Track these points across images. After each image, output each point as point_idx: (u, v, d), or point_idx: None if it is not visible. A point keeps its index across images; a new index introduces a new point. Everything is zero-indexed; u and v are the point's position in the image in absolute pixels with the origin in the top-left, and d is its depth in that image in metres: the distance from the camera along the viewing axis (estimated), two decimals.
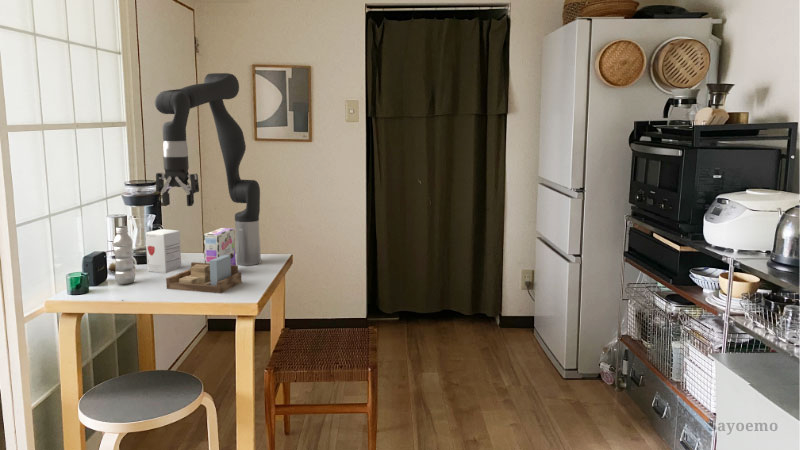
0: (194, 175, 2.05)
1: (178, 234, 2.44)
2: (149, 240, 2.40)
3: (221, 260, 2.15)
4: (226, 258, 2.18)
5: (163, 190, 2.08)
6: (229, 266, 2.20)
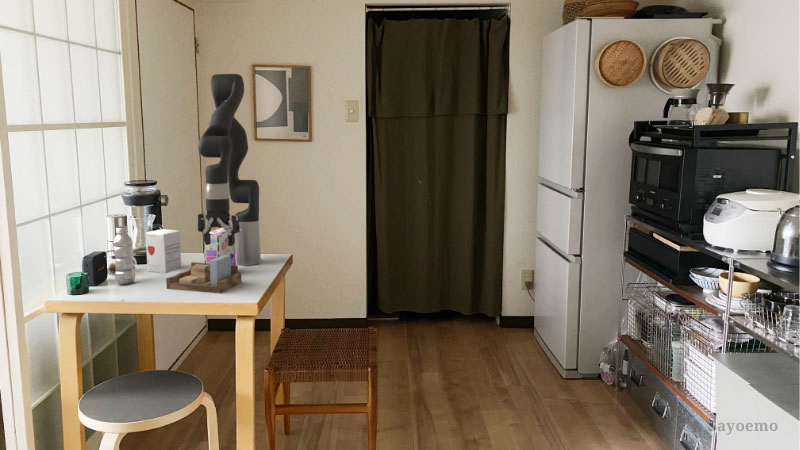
0: (235, 216, 2.12)
1: (178, 234, 2.44)
2: (149, 240, 2.40)
3: (221, 260, 2.15)
4: (226, 258, 2.18)
5: (205, 230, 2.15)
6: (229, 266, 2.20)
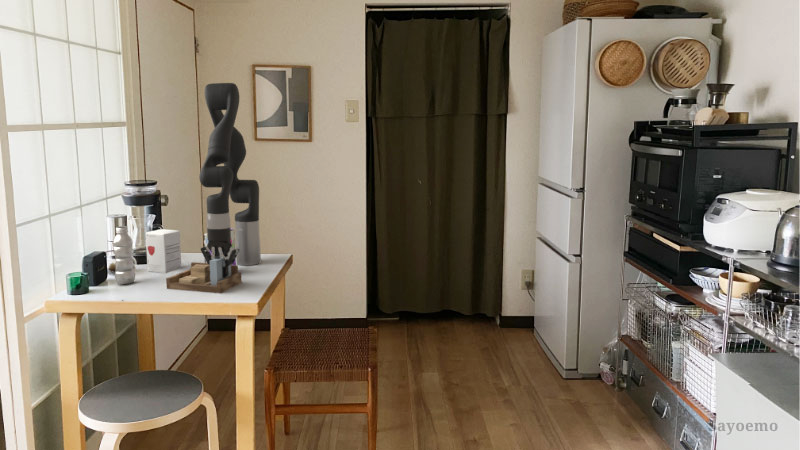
0: (236, 251, 2.14)
1: (178, 234, 2.44)
2: (149, 240, 2.40)
3: (221, 260, 2.15)
4: None
5: None
6: (229, 266, 2.20)
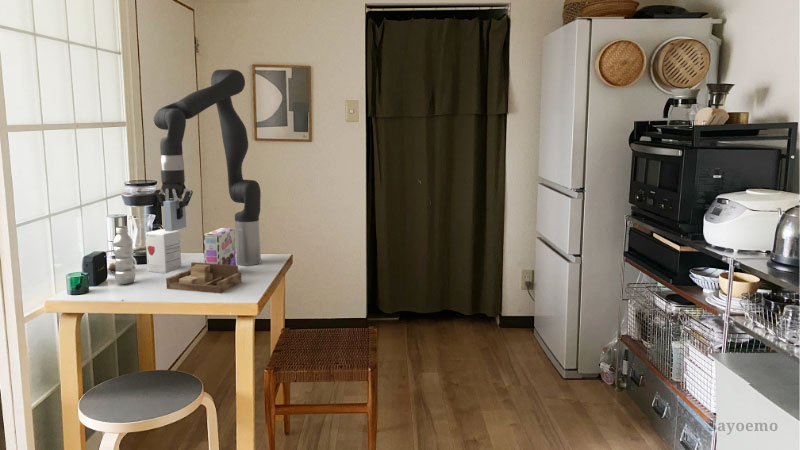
0: (190, 193, 2.18)
1: (178, 234, 2.44)
2: (149, 240, 2.40)
3: (175, 202, 2.19)
4: None
5: None
6: (184, 209, 2.24)
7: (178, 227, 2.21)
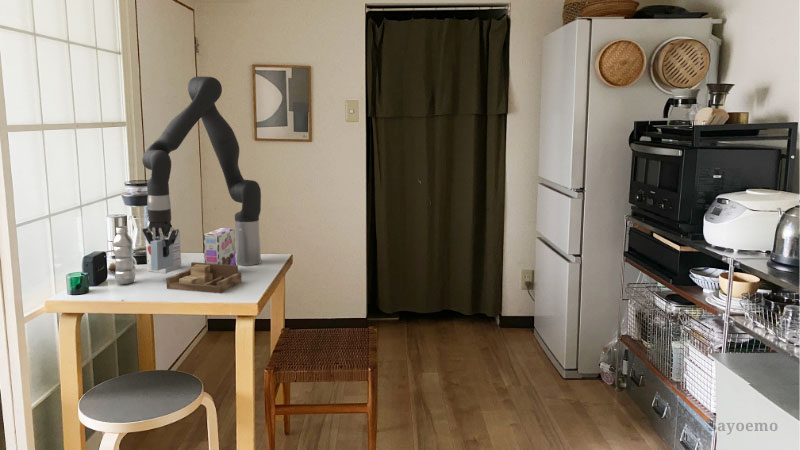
0: (175, 232, 2.23)
1: (178, 234, 2.44)
2: None
3: None
4: None
5: None
6: (171, 248, 2.30)
7: (164, 266, 2.27)
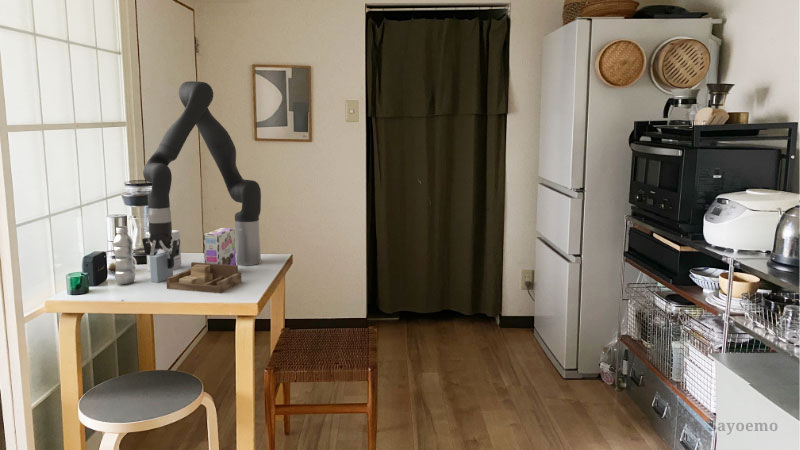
0: (177, 241, 2.24)
1: (178, 234, 2.44)
2: None
3: (161, 256, 2.25)
4: None
5: (151, 254, 2.26)
6: None
7: None
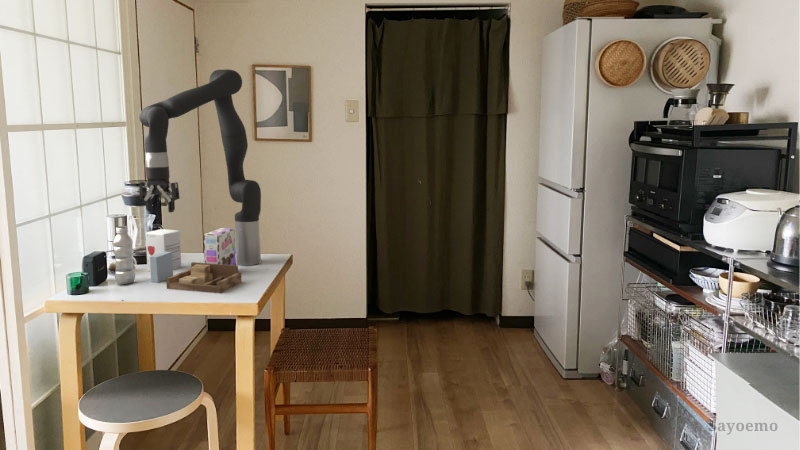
0: (174, 184, 2.22)
1: (178, 234, 2.44)
2: (149, 240, 2.40)
3: (161, 256, 2.25)
4: (167, 254, 2.28)
5: (146, 198, 2.25)
6: (170, 262, 2.30)
7: None
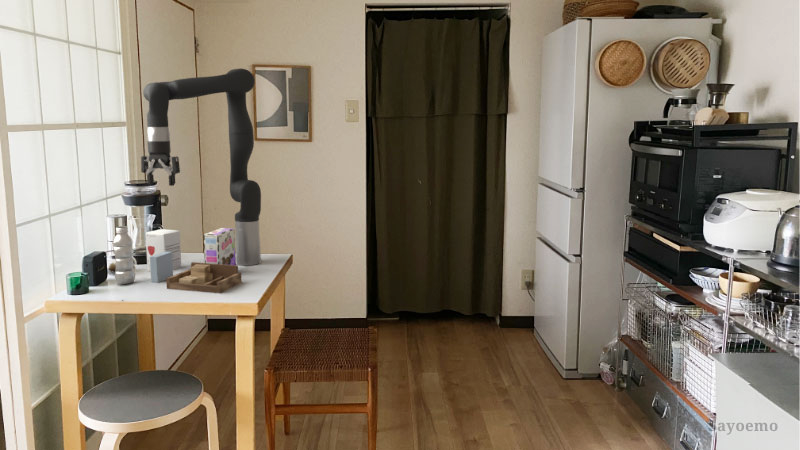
0: (175, 158, 2.29)
1: (178, 234, 2.44)
2: (149, 240, 2.40)
3: (161, 256, 2.25)
4: (167, 254, 2.28)
5: (147, 171, 2.32)
6: (170, 262, 2.30)
7: None
